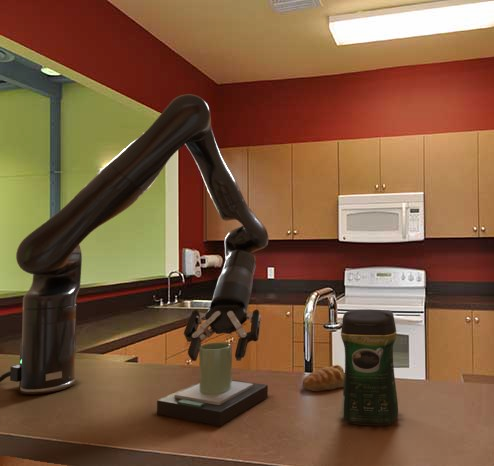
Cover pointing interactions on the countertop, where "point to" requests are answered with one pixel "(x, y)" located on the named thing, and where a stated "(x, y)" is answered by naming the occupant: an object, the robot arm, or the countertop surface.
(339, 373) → the pastry
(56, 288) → the robot arm
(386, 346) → the coffee jar
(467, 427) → the countertop surface
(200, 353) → the cup
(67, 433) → the countertop surface
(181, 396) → the scale
